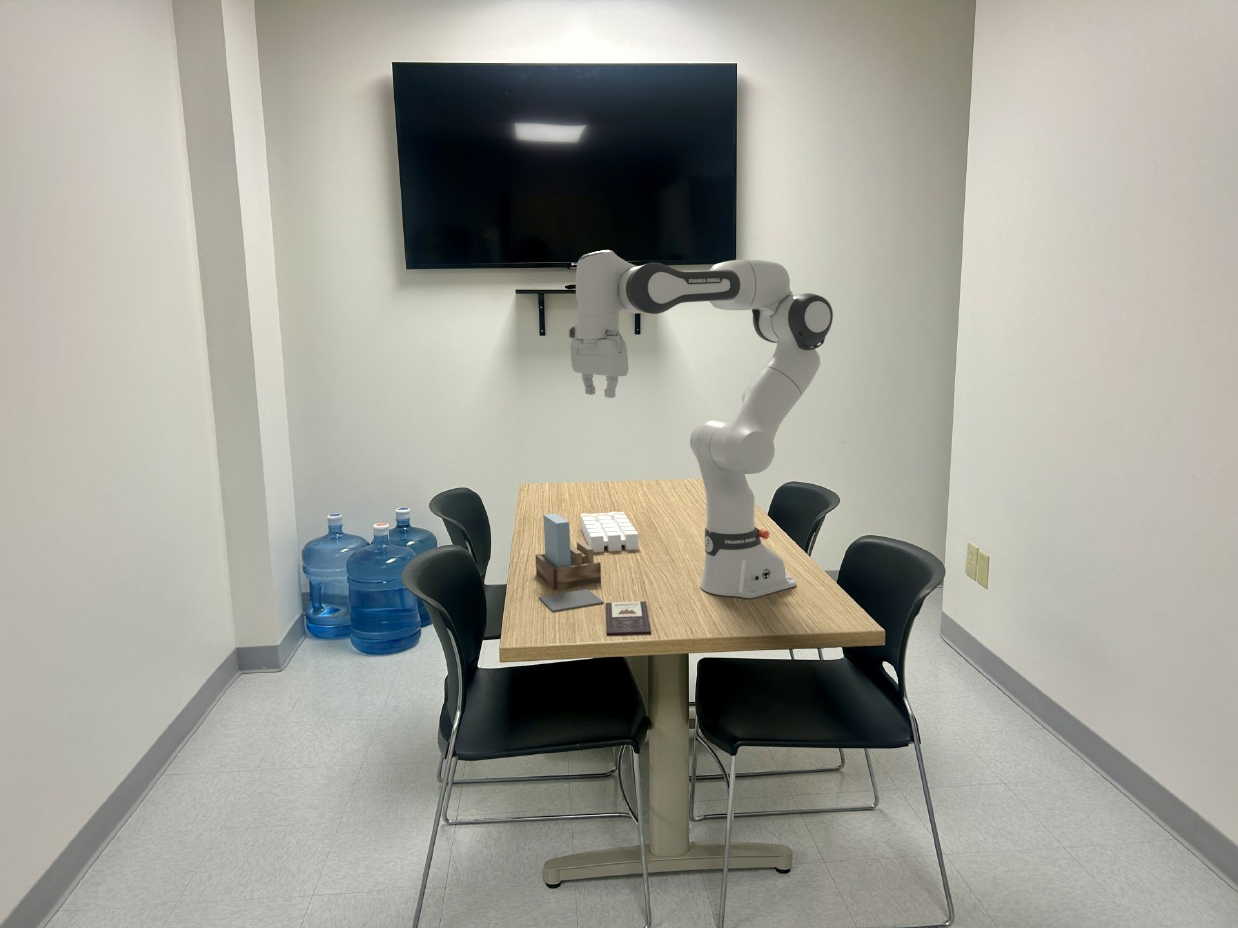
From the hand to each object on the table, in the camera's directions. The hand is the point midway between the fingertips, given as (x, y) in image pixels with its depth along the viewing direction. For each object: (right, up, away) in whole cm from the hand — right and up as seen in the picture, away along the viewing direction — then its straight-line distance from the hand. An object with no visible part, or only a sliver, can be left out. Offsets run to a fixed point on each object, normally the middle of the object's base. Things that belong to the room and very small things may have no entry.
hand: (600, 396), depth 175 cm
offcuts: (-6, -41, +29) cm, 51 cm away
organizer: (0, -36, +68) cm, 77 cm away
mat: (-7, -46, +12) cm, 48 cm away
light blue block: (-11, -41, +27) cm, 51 cm away
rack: (-9, -43, +28) cm, 52 cm away
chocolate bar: (+6, -48, 0) cm, 48 cm away
